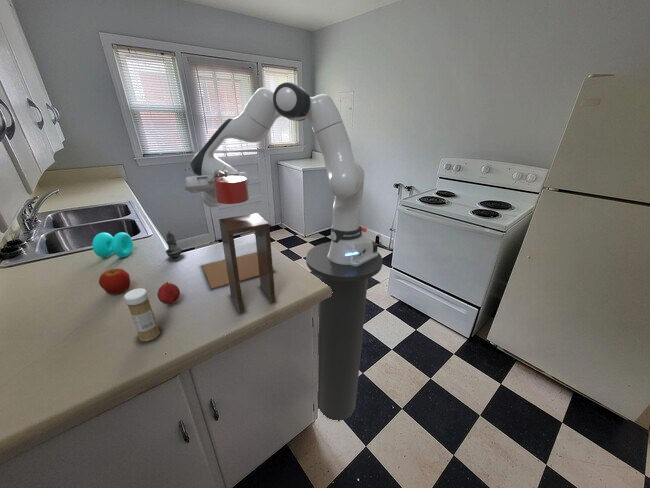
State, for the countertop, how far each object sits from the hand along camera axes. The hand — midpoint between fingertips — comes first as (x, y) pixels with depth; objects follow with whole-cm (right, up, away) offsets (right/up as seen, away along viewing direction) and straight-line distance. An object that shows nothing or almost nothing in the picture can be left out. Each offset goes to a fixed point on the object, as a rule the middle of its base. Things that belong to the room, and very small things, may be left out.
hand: (220, 173), depth 86 cm
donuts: (-51, -28, +23) cm, 63 cm away
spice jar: (-12, -47, -16) cm, 51 cm away
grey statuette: (-27, -28, +22) cm, 45 cm away
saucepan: (+3, -7, -2) cm, 8 cm away
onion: (-13, -41, -4) cm, 43 cm away
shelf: (+11, -40, -1) cm, 41 cm away
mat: (0, -32, +15) cm, 35 cm away
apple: (-34, -38, +1) cm, 51 cm away
